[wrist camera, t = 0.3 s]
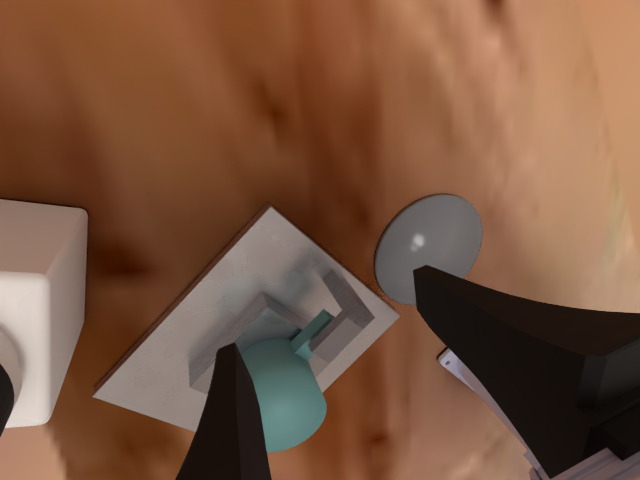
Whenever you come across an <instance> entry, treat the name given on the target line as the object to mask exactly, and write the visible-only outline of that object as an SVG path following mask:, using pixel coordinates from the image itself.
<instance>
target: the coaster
mask: <svg viewBox="0 0 640 480" xmlns="http://www.w3.org/2000/svg"><path fill="white" fill-rule="evenodd" d="M481 242H482V223H481V219H480V217H479V214H478V212H477V211H476V209H475V208H474V207H473V206H472V205H471V204H470V203H469V202H468V201H466V200H464V199H462V198H460V197H458V196H455V195H451V194H435V195H430V196H427V197H424V198H421V199H419V200H417V201H415V202H413V203H412V204H410V205H409V206H407V207H406V208H404V209H403V210H402V211H401V212H400V213H399V214H398V215H396V217H395V218H394V219H393V220H392V221H391V222H390V224H389V225H388V226H387V228H386V229H385V231H384V233H383V234H382V236H381V238H380V240H379V243H378V245H377V249H376V252H375V258H374V272H375V276H376V280H377V282H378V284H379V286H380V287H381V289H382V290H383V291H384V292H385V294H386V295H387V296H388V297H390V298H391V299H393V300H394V301H396V302H399V303H402V304H408V305H416V296H415V287H414V277H413V270H415V269H417V268H420V267H422V266H424V265H429V266H431V267H434V268H437V269H439V270H442V271H444V272H447V273H449V274H452V275H454V276H457V277H459V278H462V279H463V278H464V277H465V276H466V275H467V273H468V272H469V271H470V269H471V268H472V266H473V264H474V262H475V260H476V258H477V256H478V253H479V250H480V247H481Z"/></svg>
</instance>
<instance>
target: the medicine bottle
mask: <svg viewBox="0 0 640 480" xmlns="http://www.w3.org/2000/svg"><path fill="white" fill-rule="evenodd" d="M87 229H88V215H87V212H86V211H85V210H84V209H81V208H73V207H65V206H56V205H47V204H39V203H30V202H21V201H12V200H4V199H0V436H1V434H2V432H3V430H4V428H12V427H23V426H35V425H41V424H45V423H46V422H47V421H48V420H49V419H50V417H51V415H52V412H53V409H54V407H55V404H56V401H57V398H58V395H59V392H60V389H61V386H62V384H63V381H64V378H65V375H66V372H67V369H68V366H69V363H70V361H71V358H72V355H73V352H74V349H75V346H76V343H77V341H78V338H79V335H80V332H81V329H82V326H83V323H84V313H85V285H86V257H87Z"/></svg>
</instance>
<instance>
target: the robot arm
mask: <svg viewBox="0 0 640 480" xmlns="http://www.w3.org/2000/svg"><path fill="white" fill-rule="evenodd" d="M413 277H414V287H415V296H416V306H417V310H418V312H419V313H420V315H421V316H422V318H423V319H424V320H425V322H426V323H427V324H428V326H429V327H430V328H431V330H432V331H433V332H434V333H435V334H436V335H437V336H438V337H439V338H440V339H441V340H442V342H443V343H444V344H445V345H446V346H447V347H448V349H447V350H446V351H445V352H444V353H443V354H442V355H441V356H440V357H439V359H438V361H439V363H440V364H441V365H442V366H444V367H445V368H446V369H447V370H449V371H450V372H451V373H452V374H454V375H455V376H456V377H457V378H459V379H460V380H461V381H462V382H464V383H465V384H466V385H467V386H469V387H470V388H471V389H472V390H474V391H475V392H476V393H477V394H478V395H479V396H480V397H481V398H482V399H483V400H484V402H485V403H486V404H487V405H488V406H489V407H490V408H491V409H492V411H493V412H494V413H495V414H496V415H497V416H498V417H499V418H500V420H501V421H502V422H503V423H504V424H505V425H506V426H507V427H508V429H509V430H510V431H511V432H512V433H513V434H514V435H515V436H516V438H517V439H518V440H519V441H520V442H521V443H522V444H523V445H524V447H525V448H526V449H527V451H526V453H525V454H524V456H525V457H526V459H527V460H528V461H529V462H530V463H531V464H532V466H533V467H532V468H531V469H530V471H529V475H530V478H531V480H640V313H624V312H606V311H596V310H587V309H578V308H571V307H564V306H559V305H553V304H547V303H542V302H537V301H533V300H529V299H525V298H521V297H517V296H513V295H509V294H506V293H503V292H499V291H496V290H493V289H490V288H487V287H484V286H481V285H478V284H475V283H473V282H470V281H467V280H465V279H462V278H459V277H457V276H454V275H452V274H449V273H447V272H444V271H442V270H439V269H437V268H434V267H431V266H429V265H424V266H422V267H420V268H417V269H415V270H413ZM175 480H272V479H271V474H270V469H269V463H268V457H267V450H266V444H265V437H264V431H263V424H262V418H261V412H260V406H259V402H258V398H257V394H256V391H255V387H254V384H253V380H252V378H251V376H250V373H249V371H248V369H247V367H246V365H245V363H244V360H243V358H242V356H241V354H240V352H239V350H238V347H237V345H236V343H235V342H234V343H231V344H229V345H226V346H224V347H221V348H219V349H218V350H217V352H216V359H215V365H214V370H213V375H212V379H211V384H210V388H209V391H208V395H207V399H206V403H205V406H204V409H203V412H202V415H201V418H200V421H199V425H198V427H197V430H196V433H195V436H194V438H193V441H192V443H191V446H190V448H189V451H188V453H187V455H186V458H185V460H184V462H183V464H182V466H181V469H180V471H179V473H178V475H177V477H176V479H175Z"/></svg>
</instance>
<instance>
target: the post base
mask: <svg viewBox="0 0 640 480" xmlns="http://www.w3.org/2000/svg"><path fill="white" fill-rule="evenodd" d="M323 309H325V310H326V311H327V312H329V313H330V314H332V315H333V316H334V317H335V318H334V319H333V320H332V321H331V322H330V323H329V324H328V325H327V326H326V327H325V328H324V329H323V330H322V331H321V332H320V333H319V334H318V335H317V336H316V337H315V338H314V339H313V340H312V341H311V342H310V343H309V344H308V346H309V348H310V351H311V353H313V354H314V355H313V356H312V357H311V358H310V359H309V360H308V362H309V364H310V366H311V369H312V371H313V373H314V376H315V378H316V380H317V383H318V385H319V387H320V390H321V392H322V393H323V392H324V391H325V390H326V389H327V388H328V387H329V386H330V385H331V384H332V383H333V382H334V381H335V380H336V379H337V378H338V377H339V376H340V375H341V374H342V373H343V372H344V371H345V370H346V369H347V368H348V367H349V366H350V365H351V364H352V363H353V362H354V361H355V360H356V359H357V358H358V357H359V356H360V355H361V354H362V353H363V352H364V351H365V350H366V349H367V348H368V347H369V346H370V345H371V344H372V343H374V342H375V341H376V340H377V339H378V338H379V337H380V336H381V335H382V334H383V333H384V332H385V331H386V330H387V329H388V328H389V327H390V326H391V325H392V324H393V323H394V322H395V321H396V320H397V319H398V318H399V317H400V315H399V314H398V313H397V312H396V310H394V309H393V308H392V307H391V306H390V305H389V304H387V303H386V302H385V301H384V300H383V299H382V298H380V297H379V296H378V295H377V294H376V293H374V292H373V291H372V290H371V289H370V288H369V287H367V286H366V285H365V284H364V283H363V282H361V281H360V280H359V279H358V278H357V277H356V276H354V275H353V274H352V273H351V272H350V271H349V270H347V269H346V268H345V267H344V266H343V265H341V264H340V263H339V262H338V261H337V260H336V259H334V258H333V257H332V256H331V255H330V254H328V253H327V252H326V251H325V250H324V249H323V248H321V247H320V246H319V245H318V244H317V243H316V242H314V241H313V240H312V239H311V238H310V237H308V236H307V235H306V234H305V233H304V232H303V231H301V230H300V229H299V228H298V227H297V226H295V225H294V224H293V223H292V222H291V221H290V220H288V219H287V218H286V217H285V216H284V215H283V214H281V213H280V212H279V211H278V210H277V209H275V208H274V207H273V206H272V205H271V204H270V203H268V202H267V203H266V205H265V206H264V207H263V208H262V209H261V210H260V211H259V212H258V213H257V214H256V215H255V216H254V217H253V218H252V219H251V221H250V222H249V223H248V224H247V225H246V226H245V227H244V228H243V229H242V230H241V231H240V232H239V233H238V234H237V236H236V237H235V238H234V239H233V240H232V241H231V242H230V243H229V244H228V245H227V246H226V247H225V248H224V249H223V250H222V252H221V253H220V254H219V255H218V256H217V257H216V258H215V259H214V260H213V261H212V262H211V263H210V264H209V265H208V267H207V268H206V269H205V270H204V271H203V272H202V273H201V274H200V275H199V276H198V277H197V278H196V279H195V280H194V281H193V283H192V284H191V285H190V286H189V287H188V288H187V289H186V290H185V291H184V292H183V293H182V294H181V295H180V296H179V297H178V299H177V300H176V301H175V302H174V303H173V304H172V305H171V306H170V307H169V308H168V309H167V310H166V311H165V312H164V314H163V315H162V316H161V317H160V318H159V319H158V320H157V321H156V322H155V323H154V324H153V325H152V326H151V327H150V328H149V330H148V331H147V332H146V333H145V334H144V335H143V336H142V337H141V338H140V339H139V340H138V341H137V342H136V343H135V344H134V346H133V347H132V348H131V349H130V350H129V351H128V352H127V353H126V354H125V355H124V356H123V357H122V358H121V359H120V361H119V362H118V363H117V364H116V365H115V366H114V367H113V368H112V369H111V370H110V371H109V372H108V373H107V374H106V375H105V377H104V378H103V379H102V380H101V381H100V382H99V383H98V384H97V385H96V386H95V388H94V392H93V396H92V397H95V398H97V399H100V400H103V401H106V402H109V403H112V404H115V405H118V406H121V407H124V408H127V409H130V410H133V411H135V412H138V413H141V414H144V415H147V416H150V417H153V418H156V419H159V420H162V421H165V422H168V423H171V424H174V425H176V426H179V427H182V428H185V429H188V430H191V431H194V432H196V430H197V427H198V425H199V421H200V418H201V415H202V412H203V409H204V406H205V403H206V399H207V395H208V391H209V388H210V384H211V379H212V375H213V370H214V365H215V359H216V352H217V350H218V349H219V348H221V347H224V346H226V345H229V344H231V343H234V342H235V343H236V345H237V347H238V350H239V352H240V354H242V353H243V352H244V351H245V350H246V349H248V348H249V347H251V346H252V345H254V344H256V343H259V342H261V341H265V340H269V339H287V340H290V341H292V340H293V339H294V338H295V337H296V336H297V335H298V334H299V333H300V332H301V331H302V330H303V329H304V328H305V327H306V326H307V325H308V324H309V323H310V322H311V321H312V320H313V319H314V318H315V317H316V316H317V315H318V314H319V313H320V312H321V311H322V310H323Z"/></svg>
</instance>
